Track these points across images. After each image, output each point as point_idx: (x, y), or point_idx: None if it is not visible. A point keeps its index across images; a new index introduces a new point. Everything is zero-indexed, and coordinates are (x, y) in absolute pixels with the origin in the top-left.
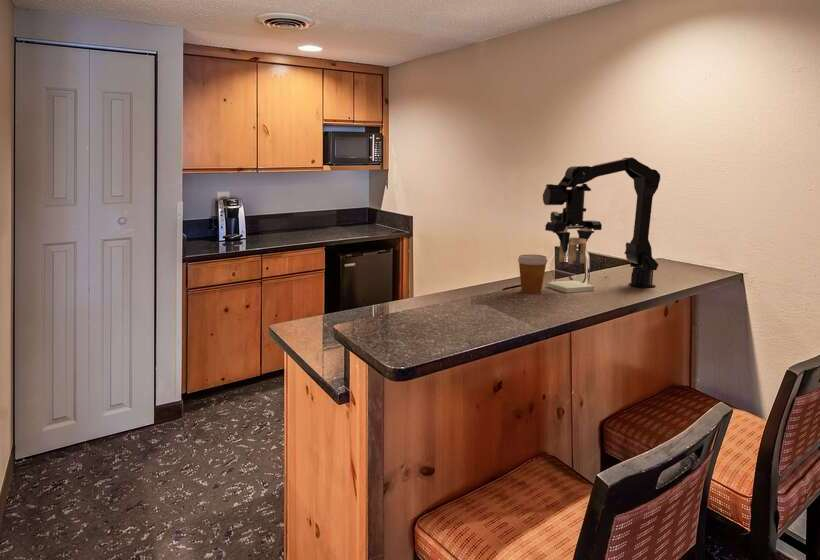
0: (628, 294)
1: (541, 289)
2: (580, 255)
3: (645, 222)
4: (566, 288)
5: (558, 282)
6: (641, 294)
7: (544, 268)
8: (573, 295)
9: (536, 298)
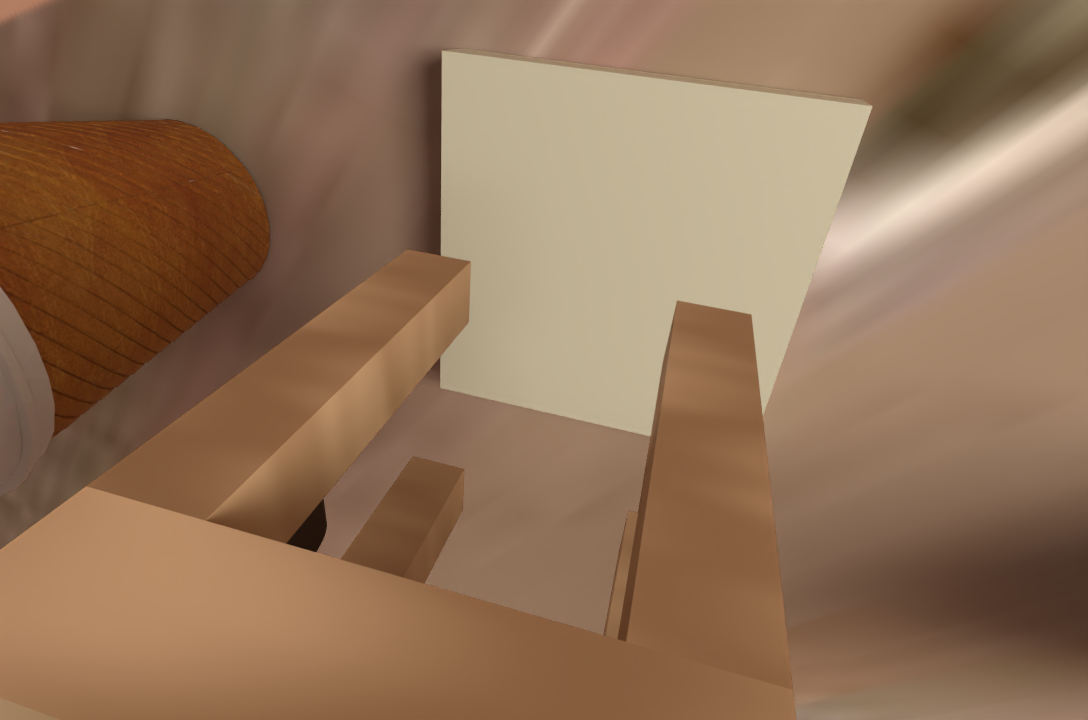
0: (846, 636)
1: (240, 285)
2: (608, 616)
3: None
4: (441, 384)
5: (558, 131)
6: (933, 684)
7: (74, 420)
8: (449, 446)
9: (171, 372)
